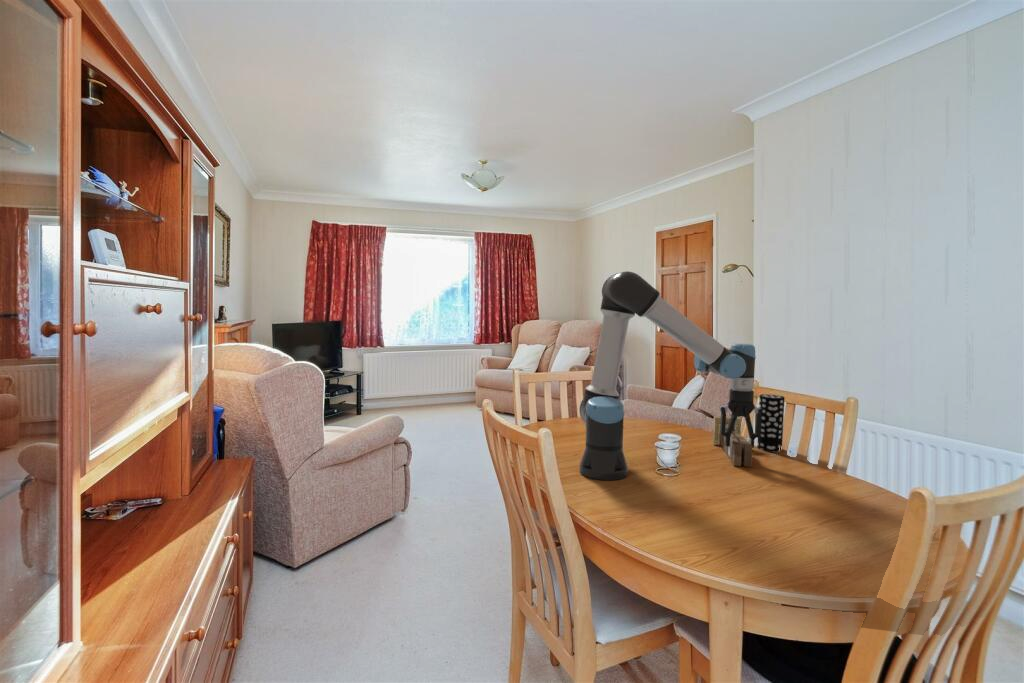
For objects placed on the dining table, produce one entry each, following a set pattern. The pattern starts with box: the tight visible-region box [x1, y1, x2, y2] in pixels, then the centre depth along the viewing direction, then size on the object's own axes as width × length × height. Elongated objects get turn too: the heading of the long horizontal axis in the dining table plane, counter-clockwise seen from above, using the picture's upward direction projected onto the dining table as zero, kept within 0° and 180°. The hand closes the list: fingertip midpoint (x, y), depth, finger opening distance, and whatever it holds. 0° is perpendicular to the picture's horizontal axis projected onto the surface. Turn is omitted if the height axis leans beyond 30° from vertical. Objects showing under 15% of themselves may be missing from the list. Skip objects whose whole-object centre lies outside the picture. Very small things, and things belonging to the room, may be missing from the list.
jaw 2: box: [732, 431, 753, 468], centre depth 180 cm, size 20×2×7 cm, turn 170°
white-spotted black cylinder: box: [756, 393, 786, 453], centre depth 192 cm, size 8×8×20 cm
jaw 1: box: [723, 431, 742, 467], centre depth 180 cm, size 20×2×7 cm, turn 167°
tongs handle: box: [718, 424, 735, 449], centre depth 195 cm, size 11×4×8 cm, turn 168°
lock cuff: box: [712, 415, 742, 446], centre depth 197 cm, size 3×9×11 cm, turn 78°
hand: (739, 456), depth 176 cm, fingers open, 5 cm apart
